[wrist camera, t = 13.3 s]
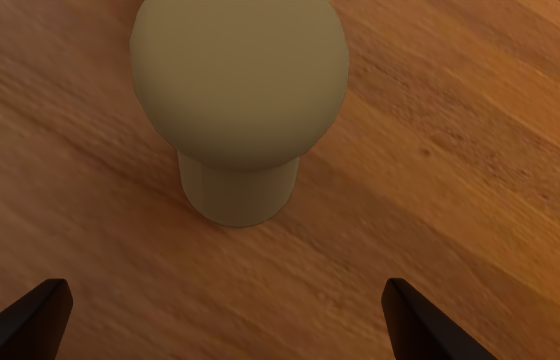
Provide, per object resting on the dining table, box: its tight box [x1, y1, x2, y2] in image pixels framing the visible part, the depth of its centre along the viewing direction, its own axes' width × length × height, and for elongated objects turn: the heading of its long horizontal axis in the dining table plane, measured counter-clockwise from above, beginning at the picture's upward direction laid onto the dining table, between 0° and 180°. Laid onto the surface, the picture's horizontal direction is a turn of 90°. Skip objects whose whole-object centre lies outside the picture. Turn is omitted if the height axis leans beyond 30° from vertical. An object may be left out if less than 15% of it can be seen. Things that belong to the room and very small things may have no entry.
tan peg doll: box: [129, 0, 349, 228], centre depth 12 cm, size 6×6×11 cm
